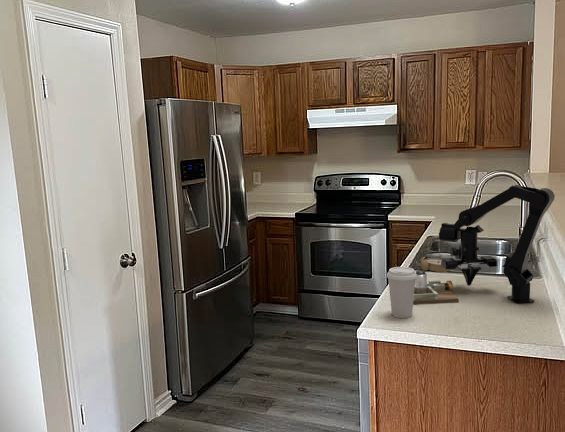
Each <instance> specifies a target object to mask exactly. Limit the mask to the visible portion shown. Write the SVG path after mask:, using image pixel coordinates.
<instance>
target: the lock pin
mask: <svg viewBox="0 0 565 432" xmlns="http://www.w3.org/2000/svg"><path fill="white" fill-rule="evenodd" d="M438 284H444V285H445V290H446V289H448V290H449V291H450V292H451V293H452V292H453V289H454V287H453V286H454V285H453V282H452V280H445V282H441V283H433V284H429V283H427V286H430V287H431V288H432V289H433V285H438Z"/></svg>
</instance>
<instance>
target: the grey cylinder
mask: <svg viewBox="0 0 565 432" xmlns="http://www.w3.org/2000/svg"><path fill="white" fill-rule="evenodd" d="M415 273H416V275H417V278H415V294H427V284H428V277H427V276H428V275H427V273H426V271H424V270H422V269H420V270H416V271H415Z"/></svg>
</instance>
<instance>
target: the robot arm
mask: <svg viewBox="0 0 565 432" xmlns="http://www.w3.org/2000/svg"><path fill="white" fill-rule="evenodd" d="M555 196H556V195H555V193H554V191H553V190H552V189H550V188H548V187H543V188H536V187H530V186H524V185H520V184H515V185H511V186H509V188H507V189H506V190H504V191H502V192H500V193H498V194H497V195H495V196H493V197H492V198H490V199H488V200H486V201H485V202H483V203H481V204H478V205H476V206H472V207H470V208H467V209H465V210H461V211H460V212H459V213H458V219H457V220H456V221H455V223H448V222H442V223H441V227H440V229H439V232H438V239H439V241H441V242H447V243H448V242H449V243H458V242H459V241H460V244H459V245H458V248H457V247H456V246H455V247H454V246H453V247H452V246H451V247H449V248H450V249H449V254H450V256H451V257H444V258H441V259H442V261H441V266H442V267H444V268H445V269H451V270H455V269H459V270H460V271H461V273H462V275H463V277H464V279H465V282H466V285H467V286H471V285H472V283H473V281H474V280H475V277H476V276H477V275H478V272H479V271H481V270H482V267H481V265H487V267H489V268H493V267H496V268H497V267H498V260H497V259H496V257H493V256H492V255H481V256H480V257H479V258H478V251H480V248H479V247H478V235H479V234H480V233H482V232H484V231H485V230H484V228H482V227H481V226H480V225H479V224H477V223H478V222H479V221H481V220H482V219H483V218H484V217H486V215H487V214H489V213H490V212H492V211H494V210H496V209H497V208H499V207H501V206H503V205H505V204H507V203H508V202H510V201H513V200H514V199H518V200H521V201H523V202H526V203H529V204H528V216H527V218H526V221H525V223H524V227H523V228H522V230H521V231H522V232H521V235H520V236H519V239H518V242H517V245H516V248H515V250H514V253H513V252H511V253H510V254H508V255H506V256H505V260H504V263H503V265H502V268H503V274H504V276H505V277H506V278H507V279H508V282H509V285H511V295H507V297H506V298H507V299H509V300H510V301H512V302H513V303H515V304H523V303H524V304H527V303H529V304H530V303H534V302H535V300H534V299H532V298H531V282H532V281H533V279H534V276H535V275H534V274H533V273H532V272H531V271H530V270H529V269H528V265H529V253H530V250H531V248H532V245H533V242H534V240H535V237H536V235H537V233H538V230H539V227H540V224H541V222H542V219H543V217H544V216H545V215H546V212H547V211H548V210H549V209H550V207H551V205H552V204H553V202H554V201H555ZM474 224H477V225H475V226H473V225H474ZM463 227H466V228H463ZM453 257H455V259H454V258H453Z"/></svg>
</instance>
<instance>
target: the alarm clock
mask: <svg viewBox="0 0 565 432" xmlns="http://www.w3.org/2000/svg"><path fill="white" fill-rule="evenodd" d="M442 259H443V258H438V257H430V258H428V256H423V257H421V259H420V260H419V259H418V260H416V261H415V265H416V266H418V267H420V268H421V271H425V272H426V271H432V272H438V273H439V272H440V273H445V272H450V271H452V269H445V268H444V267H442V266H441V261H442Z"/></svg>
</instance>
